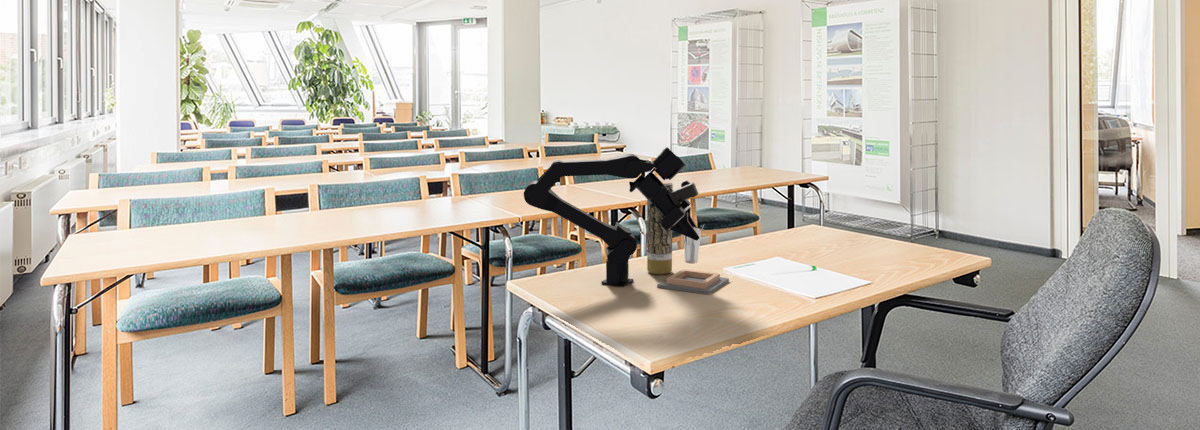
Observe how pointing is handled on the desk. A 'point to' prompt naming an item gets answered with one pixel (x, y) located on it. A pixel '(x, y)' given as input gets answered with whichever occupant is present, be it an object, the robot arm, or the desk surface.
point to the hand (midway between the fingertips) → (699, 237)
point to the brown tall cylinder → (658, 241)
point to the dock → (694, 281)
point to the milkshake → (692, 248)
